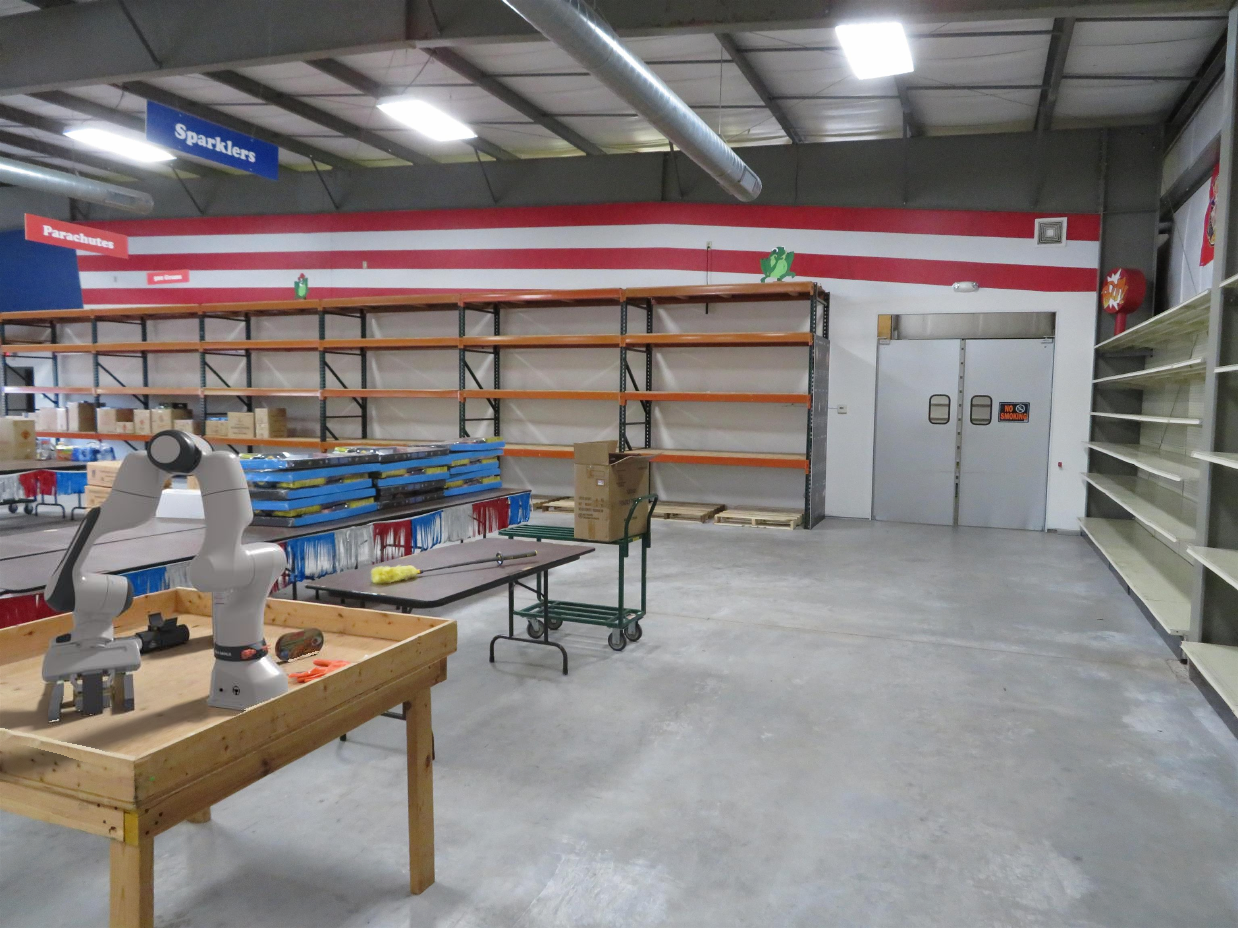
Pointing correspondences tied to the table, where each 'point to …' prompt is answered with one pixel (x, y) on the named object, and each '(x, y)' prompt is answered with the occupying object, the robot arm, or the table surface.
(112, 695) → the brown wooden cube
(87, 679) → the dark grey block
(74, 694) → the wooden block
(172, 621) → the laser sight
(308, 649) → the tin
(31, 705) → the table surface
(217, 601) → the cracker box
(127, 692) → the slot jig
